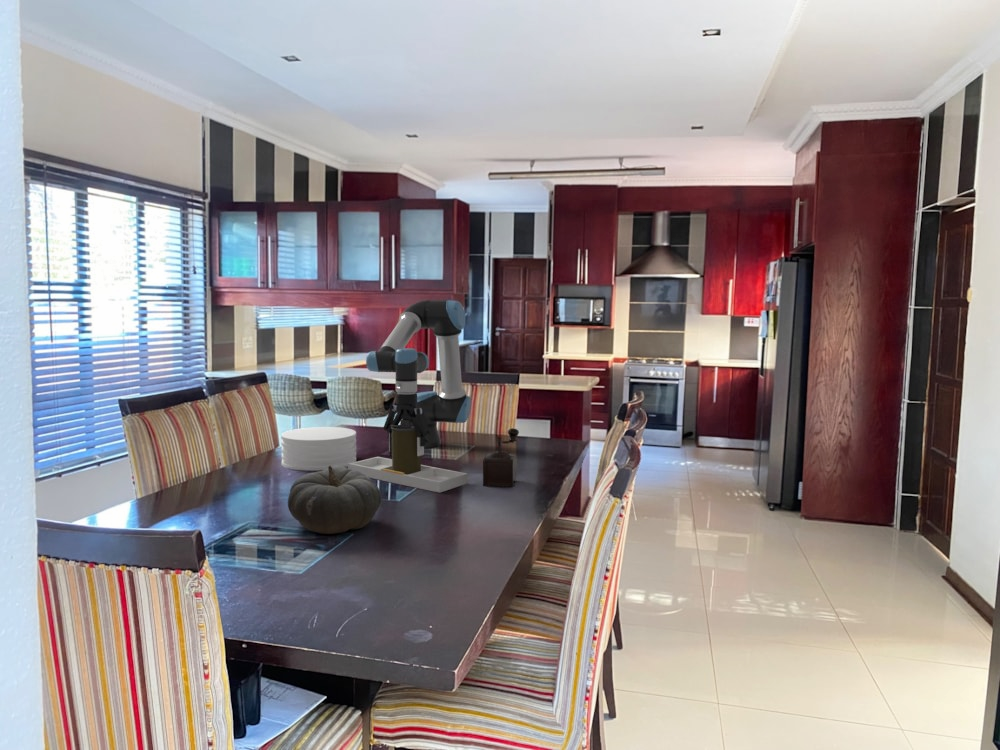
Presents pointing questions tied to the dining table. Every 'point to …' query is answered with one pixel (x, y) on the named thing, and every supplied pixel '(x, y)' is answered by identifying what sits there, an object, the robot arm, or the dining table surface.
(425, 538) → the dining table surface
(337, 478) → the gourd
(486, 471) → the pepper mill
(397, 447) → the canister
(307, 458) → the plate stack
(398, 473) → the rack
